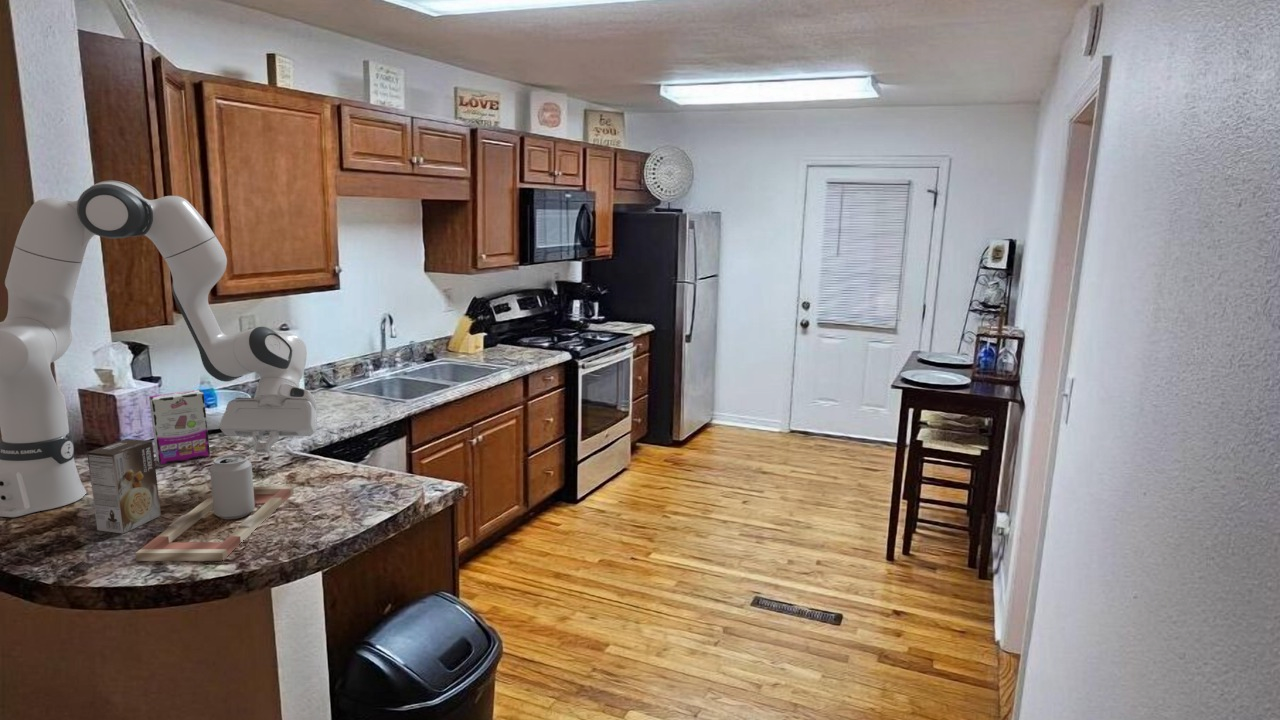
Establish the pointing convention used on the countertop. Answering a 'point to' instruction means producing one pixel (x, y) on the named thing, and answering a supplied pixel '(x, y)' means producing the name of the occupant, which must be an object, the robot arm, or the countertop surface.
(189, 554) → the flat rectangular frame
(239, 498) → the can
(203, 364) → the robot arm
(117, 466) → the coffee box
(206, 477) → the countertop surface
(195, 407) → the candy bar box
